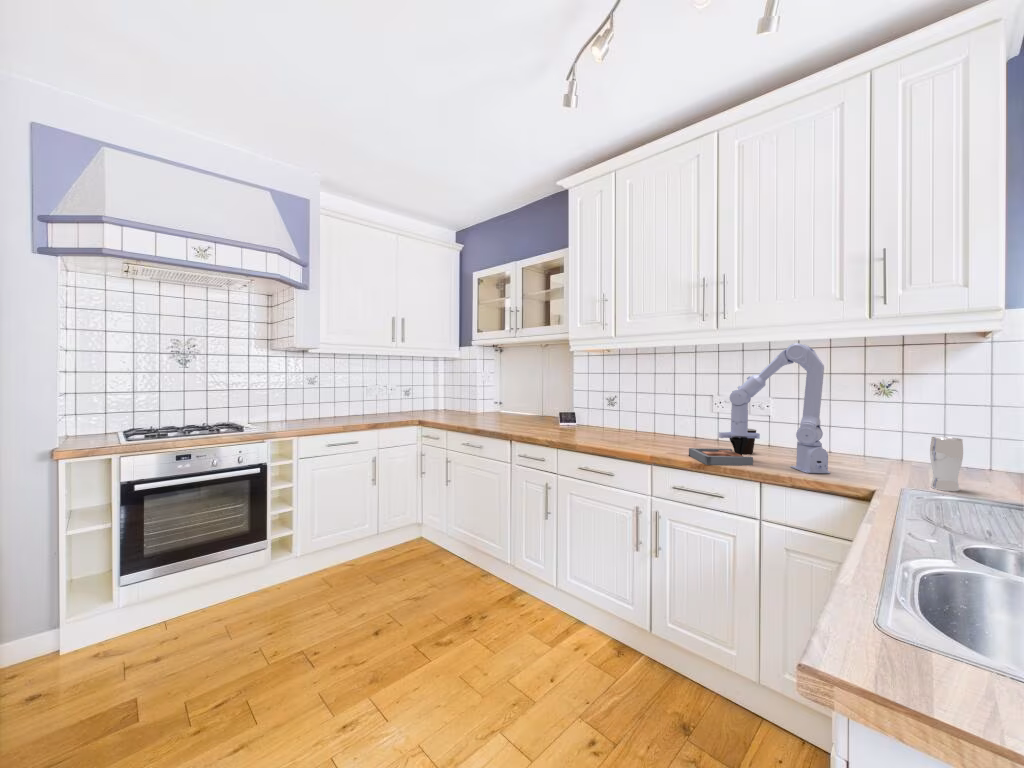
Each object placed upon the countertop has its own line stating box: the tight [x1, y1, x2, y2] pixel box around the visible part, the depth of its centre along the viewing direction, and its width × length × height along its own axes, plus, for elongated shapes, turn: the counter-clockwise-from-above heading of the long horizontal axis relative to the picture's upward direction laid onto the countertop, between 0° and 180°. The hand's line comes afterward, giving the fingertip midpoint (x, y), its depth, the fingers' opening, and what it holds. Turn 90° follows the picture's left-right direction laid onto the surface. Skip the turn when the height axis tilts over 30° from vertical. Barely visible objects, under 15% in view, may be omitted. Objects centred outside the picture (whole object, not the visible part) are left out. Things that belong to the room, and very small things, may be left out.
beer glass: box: [929, 436, 964, 493], centre depth 131 cm, size 7×7×15 cm
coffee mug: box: [734, 428, 757, 455], centre depth 188 cm, size 12×9×10 cm
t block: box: [702, 450, 744, 457], centre depth 170 cm, size 12×12×3 cm
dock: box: [688, 447, 754, 466], centre depth 170 cm, size 18×16×3 cm
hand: (738, 457), depth 170 cm, fingers closed
